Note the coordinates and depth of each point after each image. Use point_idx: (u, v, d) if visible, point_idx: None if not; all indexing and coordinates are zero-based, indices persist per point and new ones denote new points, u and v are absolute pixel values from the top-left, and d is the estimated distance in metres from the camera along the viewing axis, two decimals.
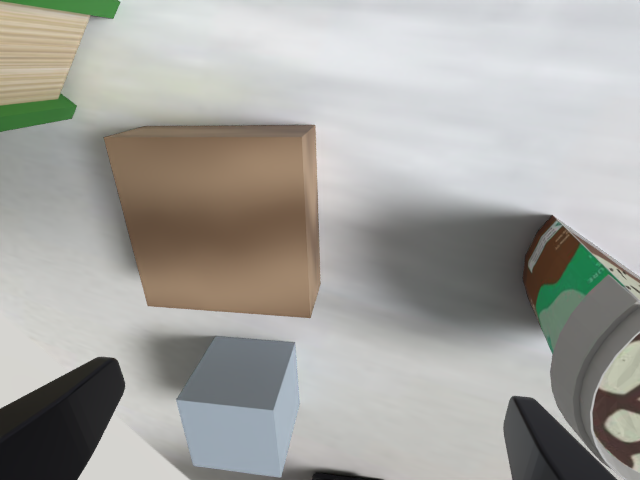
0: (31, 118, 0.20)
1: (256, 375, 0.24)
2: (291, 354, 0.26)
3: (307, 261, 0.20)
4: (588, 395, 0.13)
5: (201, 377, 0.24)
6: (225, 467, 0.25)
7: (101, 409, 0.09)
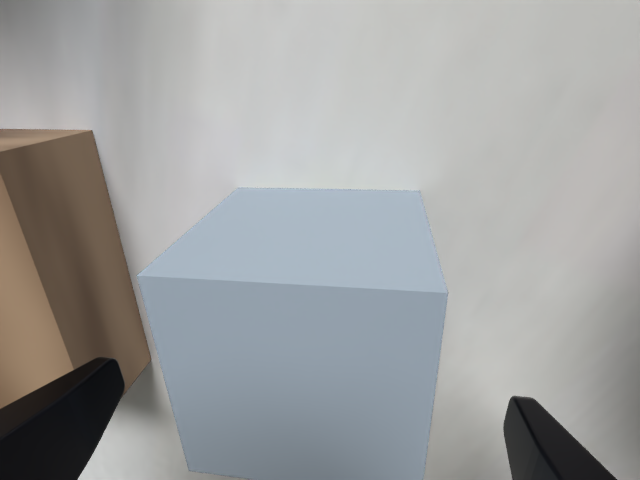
0: None
1: None
2: (228, 199, 0.12)
3: None
4: None
5: None
6: (415, 436, 0.08)
7: (101, 409, 0.09)
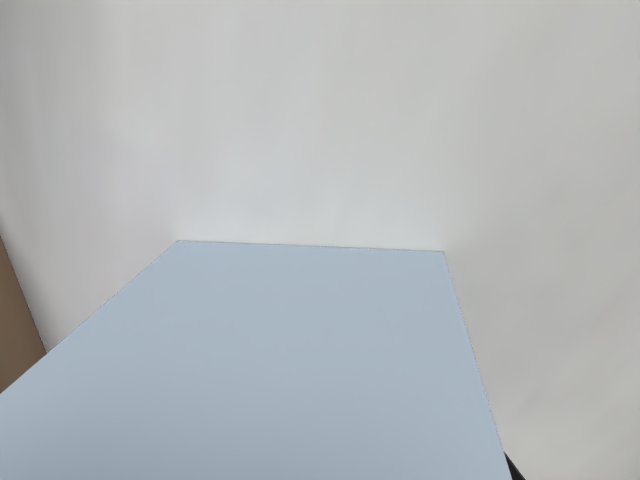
0: None
1: None
2: (152, 266, 0.08)
3: None
4: None
5: None
6: None
7: None
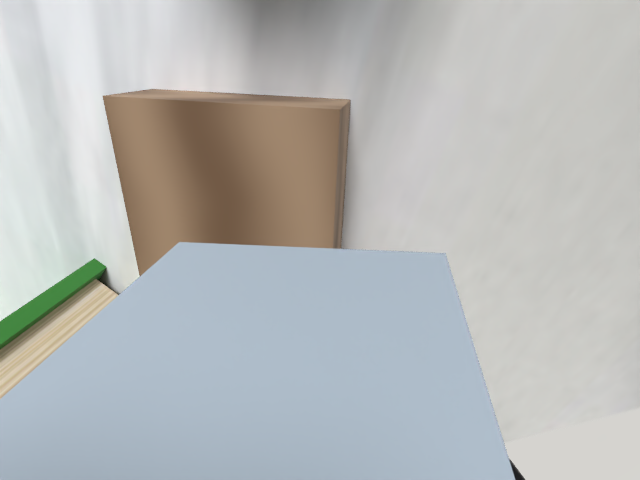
0: None
1: None
2: (154, 268, 0.08)
3: (250, 104, 0.15)
4: None
5: None
6: None
7: None
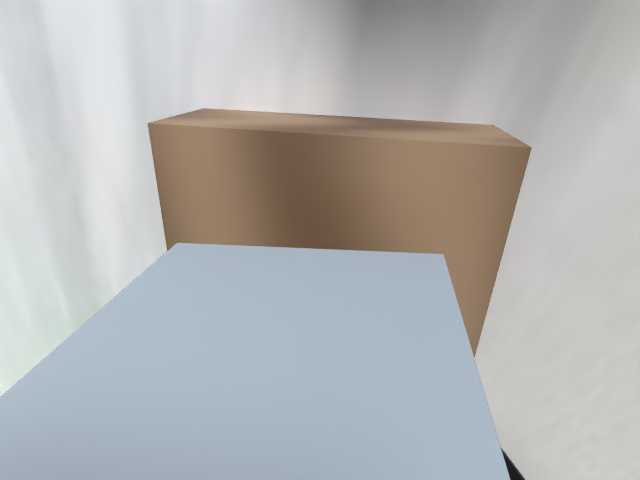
0: None
1: None
2: (151, 269, 0.08)
3: (383, 138, 0.10)
4: None
5: None
6: None
7: None
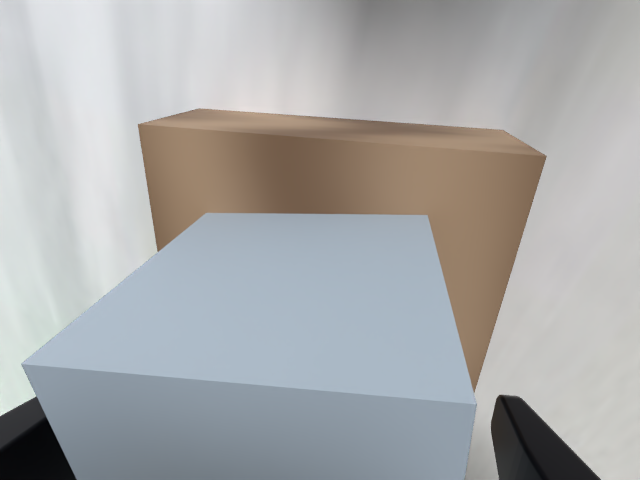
0: None
1: None
2: (188, 230, 0.10)
3: (388, 144, 0.09)
4: None
5: None
6: None
7: None
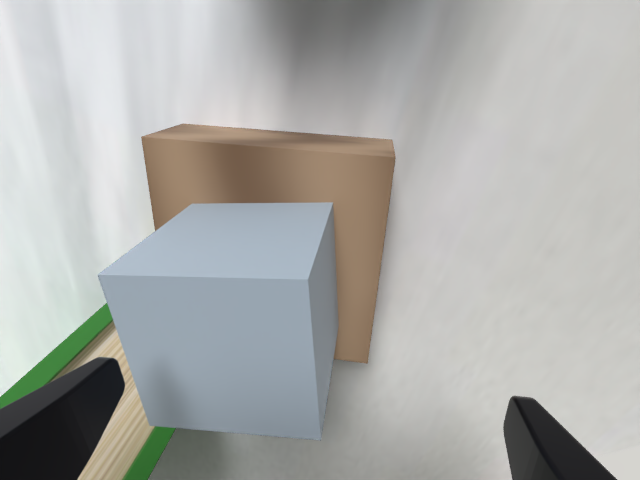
0: None
1: None
2: (180, 214, 0.15)
3: (300, 150, 0.15)
4: None
5: None
6: (307, 386, 0.11)
7: (101, 409, 0.09)
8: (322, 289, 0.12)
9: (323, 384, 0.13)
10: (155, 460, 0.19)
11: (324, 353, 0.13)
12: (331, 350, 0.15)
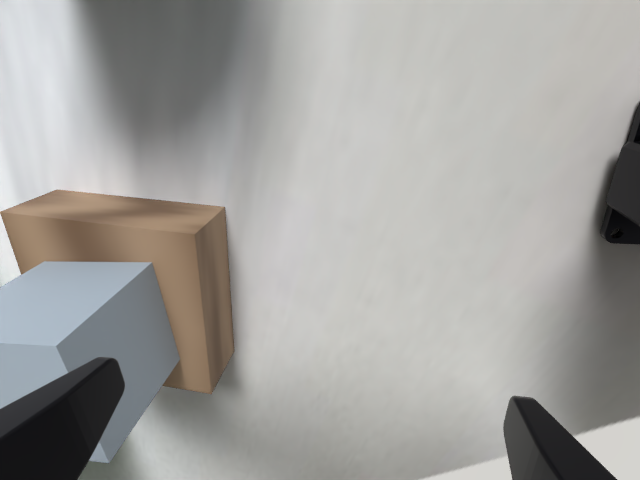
0: None
1: None
2: (25, 273, 0.18)
3: (123, 225, 0.18)
4: None
5: None
6: None
7: (101, 409, 0.09)
8: (110, 342, 0.16)
9: (117, 417, 0.16)
10: None
11: None
12: (150, 385, 0.18)
